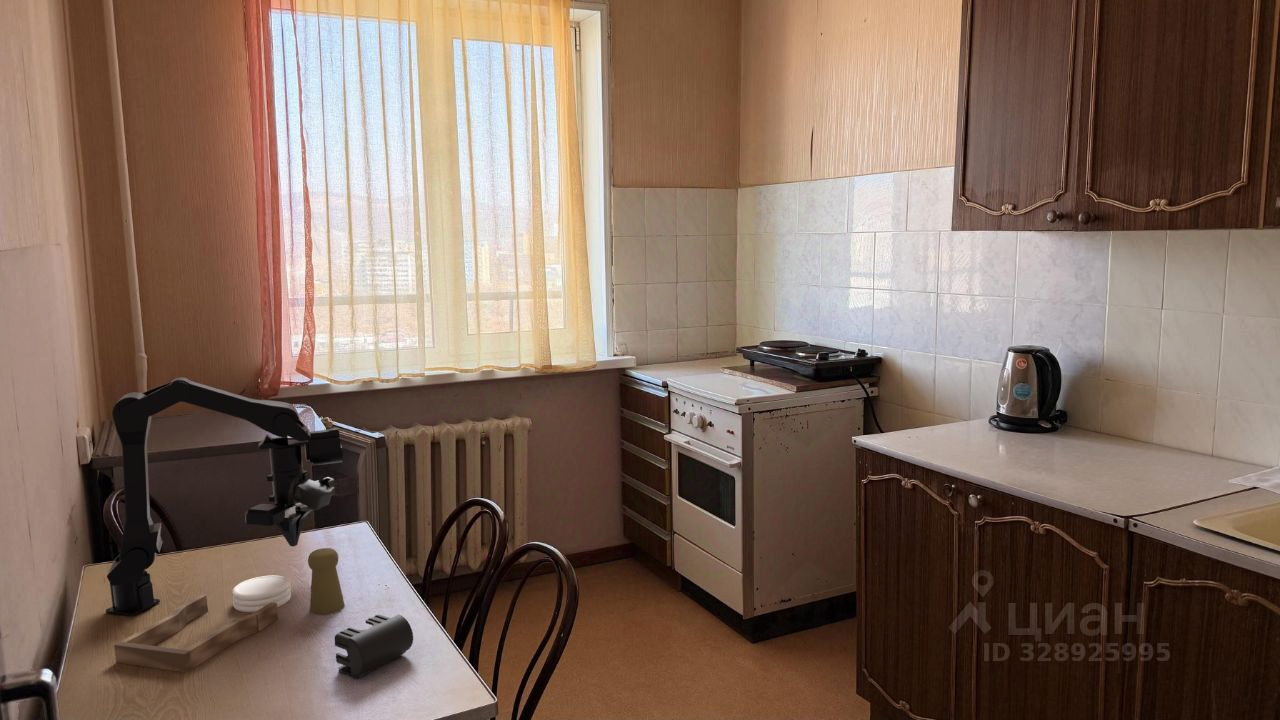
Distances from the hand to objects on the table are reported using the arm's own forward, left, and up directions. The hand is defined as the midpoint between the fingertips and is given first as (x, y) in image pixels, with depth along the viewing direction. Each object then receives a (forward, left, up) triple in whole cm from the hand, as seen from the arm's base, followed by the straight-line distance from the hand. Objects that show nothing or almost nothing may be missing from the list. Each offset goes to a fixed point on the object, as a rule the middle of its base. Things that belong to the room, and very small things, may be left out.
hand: (293, 545), depth 174 cm
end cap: (+35, -27, -8) cm, 45 cm away
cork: (+14, -10, -7) cm, 19 cm away
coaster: (0, -10, -8) cm, 13 cm away
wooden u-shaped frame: (0, -26, -7) cm, 27 cm away
